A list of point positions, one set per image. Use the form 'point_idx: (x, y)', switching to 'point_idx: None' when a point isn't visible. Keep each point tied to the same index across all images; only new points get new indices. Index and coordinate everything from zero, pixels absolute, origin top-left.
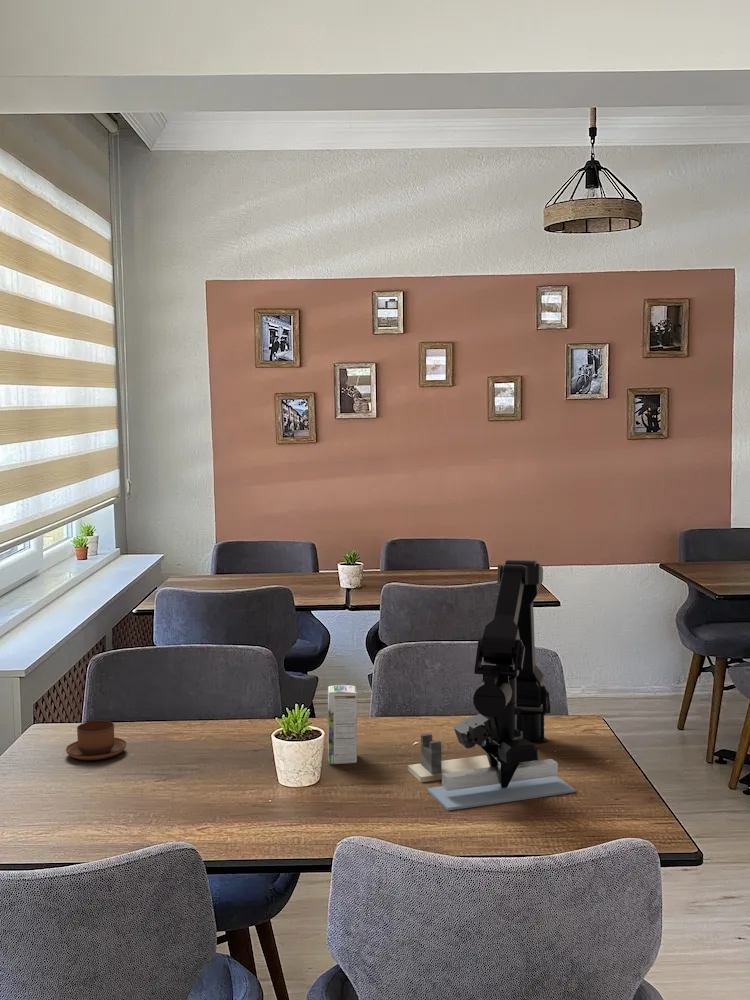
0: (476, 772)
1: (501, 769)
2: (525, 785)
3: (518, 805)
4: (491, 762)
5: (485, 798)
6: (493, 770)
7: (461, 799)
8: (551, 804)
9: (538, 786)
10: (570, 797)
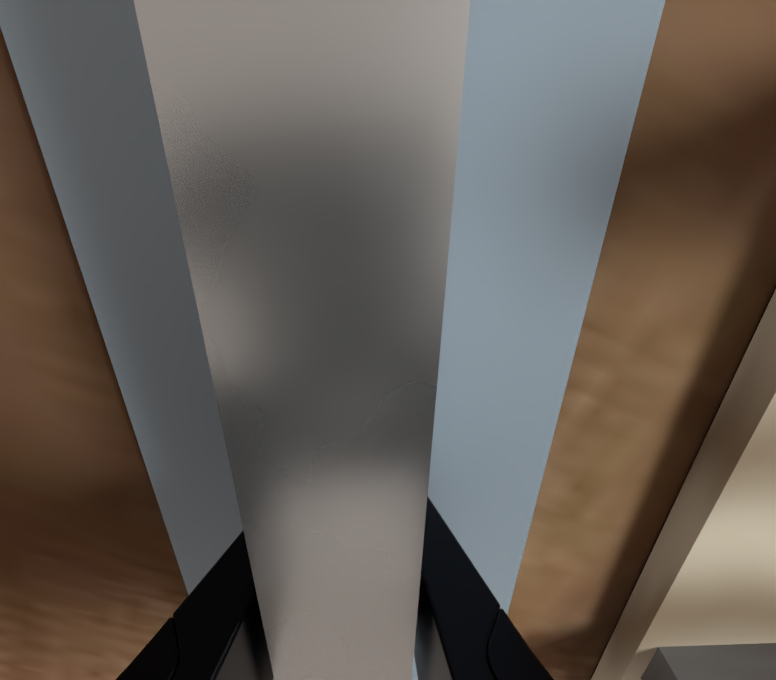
0: (277, 387)
1: (128, 674)
2: None
3: (80, 462)
4: (441, 656)
5: (179, 302)
6: (292, 580)
7: None
8: (85, 597)
9: None
10: None
